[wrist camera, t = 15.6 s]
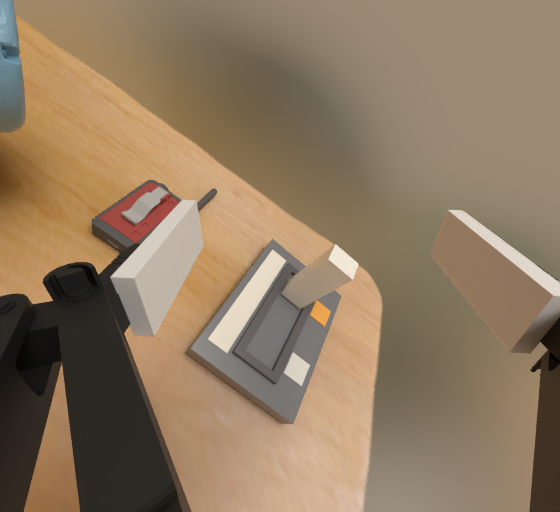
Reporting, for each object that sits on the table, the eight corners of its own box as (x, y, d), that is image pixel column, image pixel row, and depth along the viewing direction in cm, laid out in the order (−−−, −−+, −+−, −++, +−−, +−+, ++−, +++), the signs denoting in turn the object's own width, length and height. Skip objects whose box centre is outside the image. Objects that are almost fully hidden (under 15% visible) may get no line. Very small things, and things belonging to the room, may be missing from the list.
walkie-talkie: (138, 276, 36) (218, 198, 48) (141, 262, 32) (226, 182, 45) (80, 237, 34) (177, 167, 47) (76, 218, 31) (182, 148, 44)
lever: (280, 293, 41) (328, 259, 32) (288, 280, 43) (335, 244, 34) (300, 309, 41) (352, 279, 32) (307, 295, 43) (358, 263, 34)
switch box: (185, 352, 34) (192, 347, 31) (265, 247, 48) (274, 236, 45) (281, 423, 35) (296, 424, 33) (331, 301, 50) (344, 294, 47)
